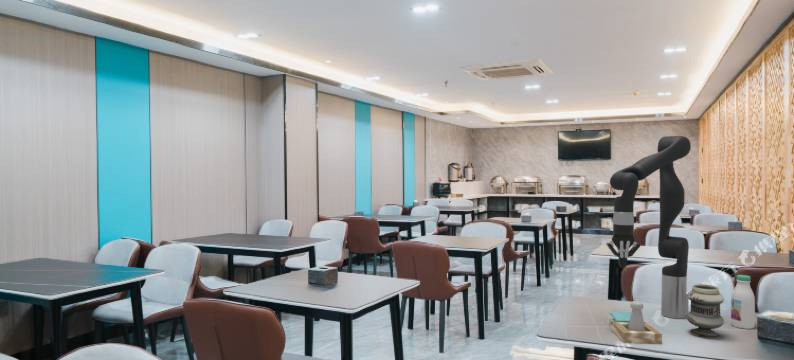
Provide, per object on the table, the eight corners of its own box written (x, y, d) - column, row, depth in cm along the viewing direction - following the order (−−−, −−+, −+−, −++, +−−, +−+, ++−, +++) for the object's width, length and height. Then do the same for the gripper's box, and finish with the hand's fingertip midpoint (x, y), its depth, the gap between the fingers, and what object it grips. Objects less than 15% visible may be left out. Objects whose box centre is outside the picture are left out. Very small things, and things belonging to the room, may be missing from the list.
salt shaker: (646, 340, 187) (647, 304, 187) (629, 339, 189) (630, 303, 188) (642, 335, 193) (642, 300, 193) (626, 334, 194) (626, 299, 194)
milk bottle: (752, 324, 206) (753, 274, 206) (756, 330, 199) (757, 278, 199) (729, 322, 209) (730, 273, 209) (732, 327, 202) (733, 276, 202)
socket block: (638, 324, 206) (638, 316, 206) (661, 343, 184) (662, 333, 184) (604, 323, 207) (604, 315, 207) (623, 342, 185) (624, 332, 185)
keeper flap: (630, 314, 207) (630, 312, 207) (639, 323, 199) (639, 321, 198) (609, 313, 208) (610, 311, 208) (617, 323, 199) (617, 320, 199)
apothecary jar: (684, 335, 193) (685, 287, 193) (688, 327, 203) (689, 281, 202) (722, 341, 186) (723, 291, 186) (724, 333, 196) (725, 285, 196)
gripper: (609, 224, 202) (608, 268, 202) (644, 224, 200) (643, 269, 201) (603, 221, 209) (602, 264, 209) (637, 222, 208) (636, 265, 208)
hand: (622, 266), depth 205 cm, fingers closed
